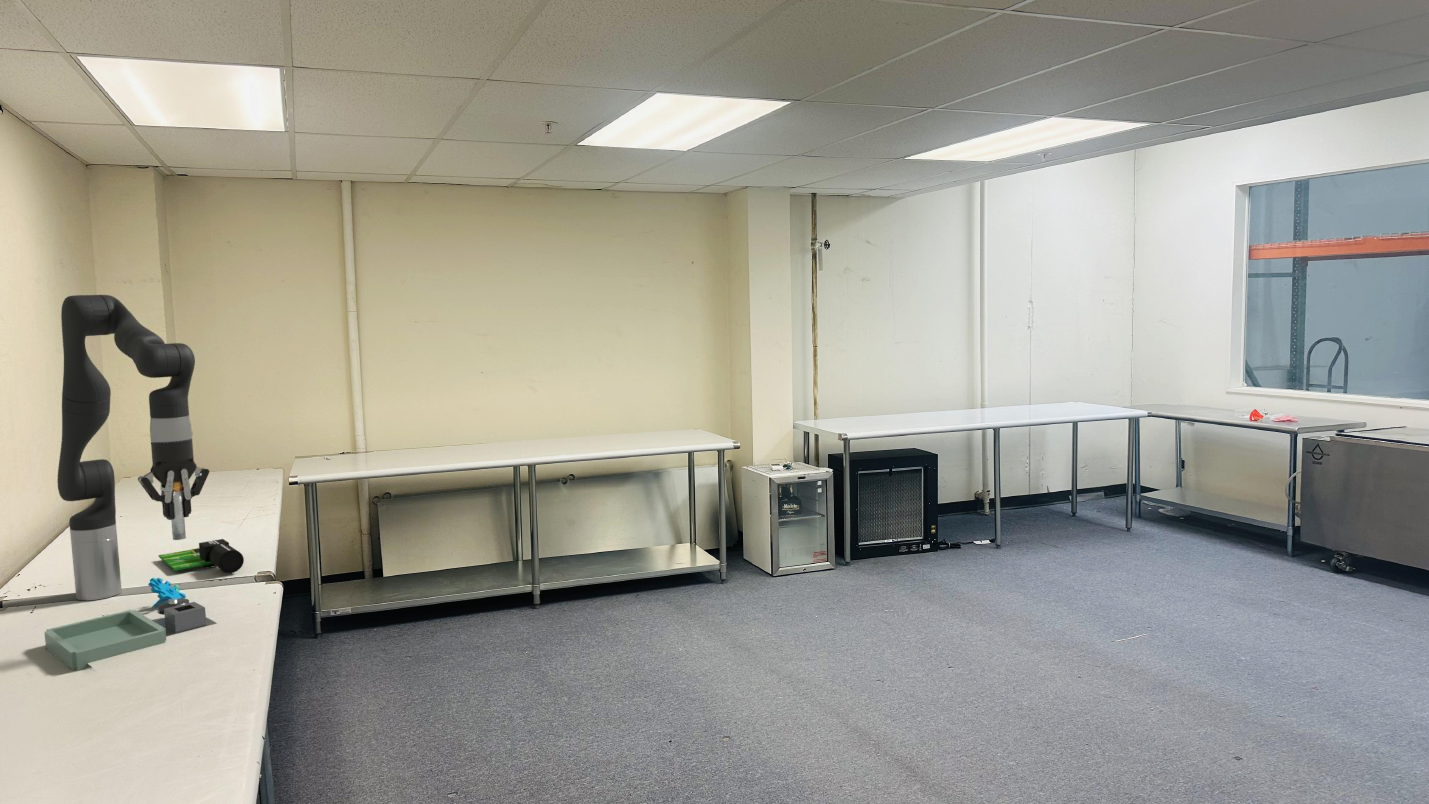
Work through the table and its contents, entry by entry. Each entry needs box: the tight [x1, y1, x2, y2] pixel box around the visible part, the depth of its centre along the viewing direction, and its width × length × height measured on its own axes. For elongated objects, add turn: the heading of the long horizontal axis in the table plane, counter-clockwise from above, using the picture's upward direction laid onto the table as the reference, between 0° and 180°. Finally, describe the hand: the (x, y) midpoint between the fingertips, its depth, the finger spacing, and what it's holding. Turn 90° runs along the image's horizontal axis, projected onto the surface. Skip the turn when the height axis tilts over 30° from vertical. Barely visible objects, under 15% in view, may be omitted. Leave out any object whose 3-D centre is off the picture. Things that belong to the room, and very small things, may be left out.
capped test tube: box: [170, 481, 187, 541], centre depth 189 cm, size 2×2×12 cm
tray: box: [44, 609, 167, 671], centre depth 183 cm, size 20×16×4 cm
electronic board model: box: [158, 538, 245, 574], centre depth 240 cm, size 30×7×15 cm
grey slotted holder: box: [153, 598, 218, 638], centre depth 194 cm, size 13×10×6 cm
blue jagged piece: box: [147, 577, 187, 608], centre depth 206 cm, size 11×6×10 cm
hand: (177, 517), depth 189 cm, fingers closed on capped test tube, 2 cm apart
